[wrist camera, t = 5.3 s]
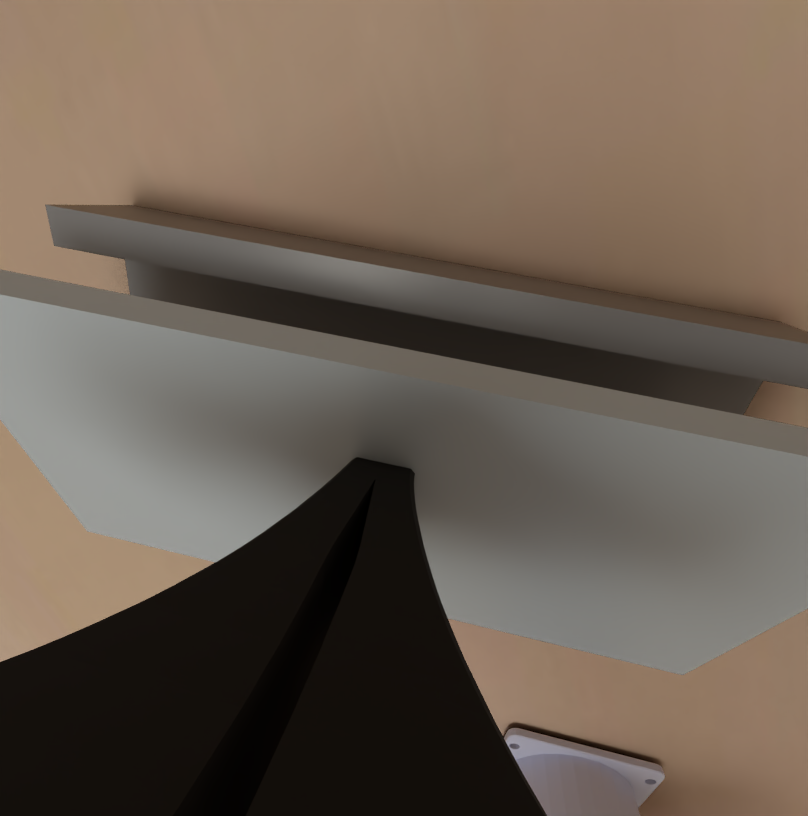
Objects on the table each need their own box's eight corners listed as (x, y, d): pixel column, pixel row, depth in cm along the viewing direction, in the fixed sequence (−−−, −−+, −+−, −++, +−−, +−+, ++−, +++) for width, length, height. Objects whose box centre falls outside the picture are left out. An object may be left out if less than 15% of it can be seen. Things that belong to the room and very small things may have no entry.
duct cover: (675, 647, 13) (683, 675, 13) (103, 511, 15) (87, 531, 14) (973, 460, 7) (1014, 498, 7) (-73, 255, 9) (-116, 271, 8)
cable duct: (639, 568, 16) (671, 638, 14) (165, 461, 18) (110, 506, 15) (780, 322, 12) (868, 354, 9) (131, 205, 13) (45, 204, 11)
